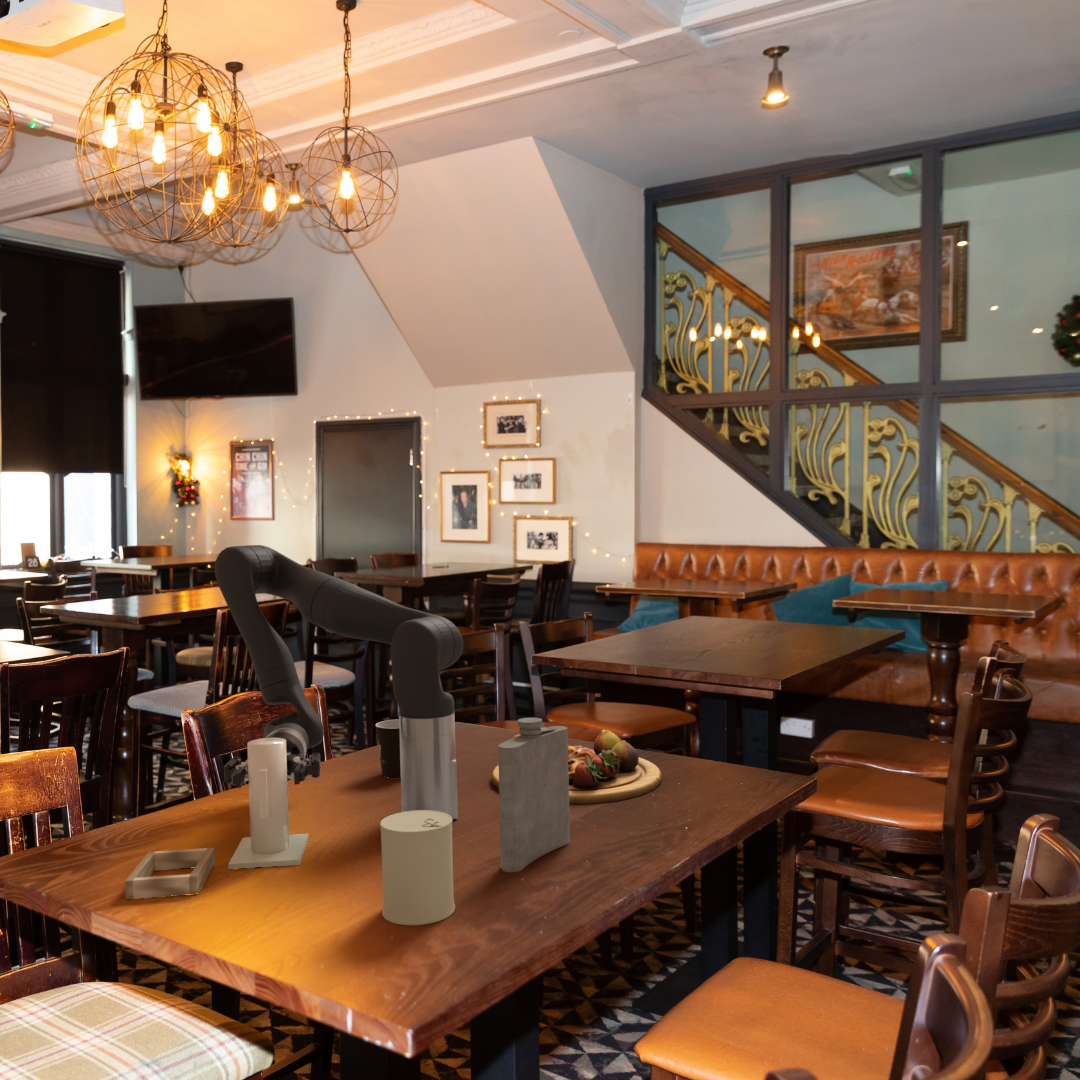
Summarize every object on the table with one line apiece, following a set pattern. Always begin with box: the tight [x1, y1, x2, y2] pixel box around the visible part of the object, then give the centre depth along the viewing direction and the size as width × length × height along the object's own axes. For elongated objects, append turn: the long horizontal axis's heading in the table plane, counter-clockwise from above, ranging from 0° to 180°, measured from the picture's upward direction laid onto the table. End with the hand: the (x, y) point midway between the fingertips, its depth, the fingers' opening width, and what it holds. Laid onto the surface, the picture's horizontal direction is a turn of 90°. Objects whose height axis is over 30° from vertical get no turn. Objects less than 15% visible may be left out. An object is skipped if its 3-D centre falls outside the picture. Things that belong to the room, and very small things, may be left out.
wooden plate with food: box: [491, 729, 663, 805], centre depth 185 cm, size 32×32×8 cm
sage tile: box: [227, 833, 310, 870], centre depth 147 cm, size 10×12×1 cm
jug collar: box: [124, 847, 216, 900], centre depth 136 cm, size 9×12×2 cm
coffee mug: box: [375, 718, 401, 779], centre depth 193 cm, size 12×9×10 cm
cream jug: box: [247, 737, 290, 854], centre depth 146 cm, size 6×8×16 cm
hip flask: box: [497, 717, 571, 873], centre depth 144 cm, size 16×4×20 cm, turn 147°
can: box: [379, 810, 456, 926], centre depth 124 cm, size 9×9×12 cm
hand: (267, 779), depth 146 cm, fingers open, 8 cm apart
